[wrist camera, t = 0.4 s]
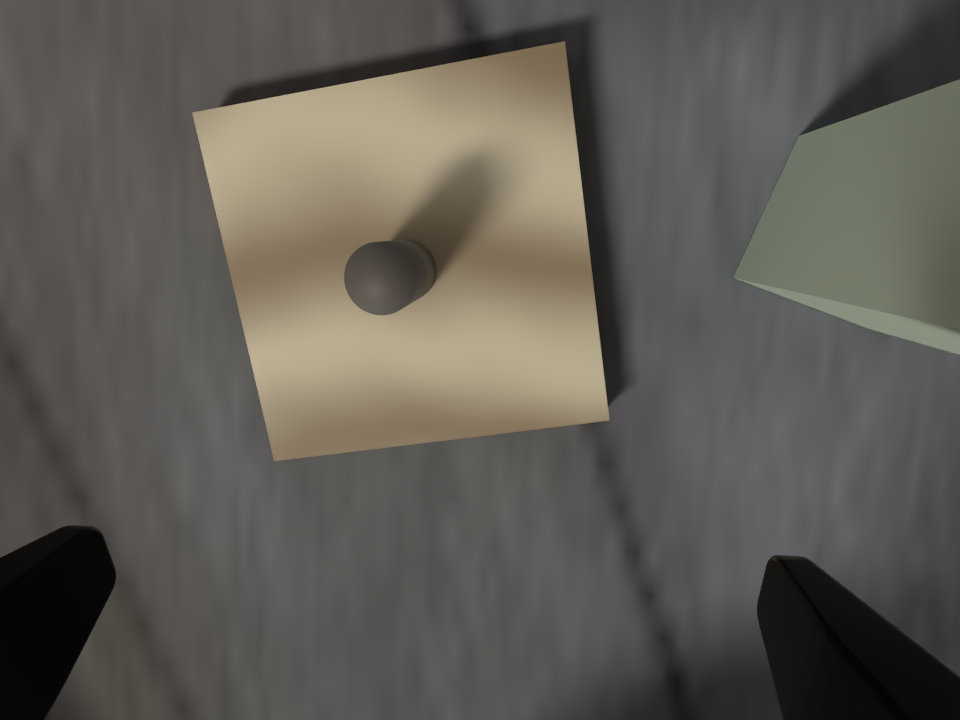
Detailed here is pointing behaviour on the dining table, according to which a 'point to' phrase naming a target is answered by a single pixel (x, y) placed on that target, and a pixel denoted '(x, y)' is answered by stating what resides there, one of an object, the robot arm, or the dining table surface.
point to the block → (871, 221)
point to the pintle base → (438, 192)
